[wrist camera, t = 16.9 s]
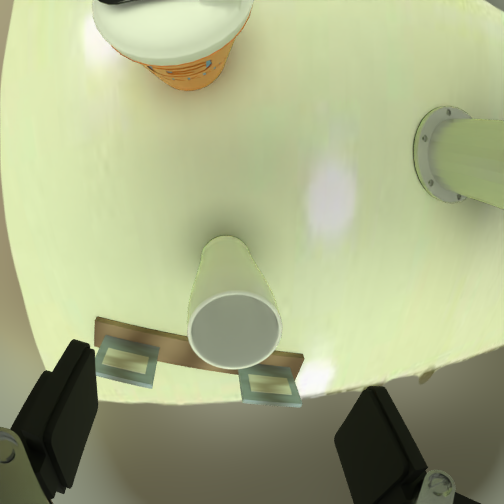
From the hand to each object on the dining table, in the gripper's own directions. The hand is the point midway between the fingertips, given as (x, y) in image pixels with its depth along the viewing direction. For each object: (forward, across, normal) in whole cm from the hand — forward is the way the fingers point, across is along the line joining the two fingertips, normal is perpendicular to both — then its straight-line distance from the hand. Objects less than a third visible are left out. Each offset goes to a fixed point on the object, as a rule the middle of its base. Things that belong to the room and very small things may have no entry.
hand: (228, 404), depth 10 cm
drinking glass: (+26, -1, +5) cm, 27 cm away
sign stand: (+26, 0, +18) cm, 31 cm away
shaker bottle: (+26, +7, -15) cm, 31 cm away
